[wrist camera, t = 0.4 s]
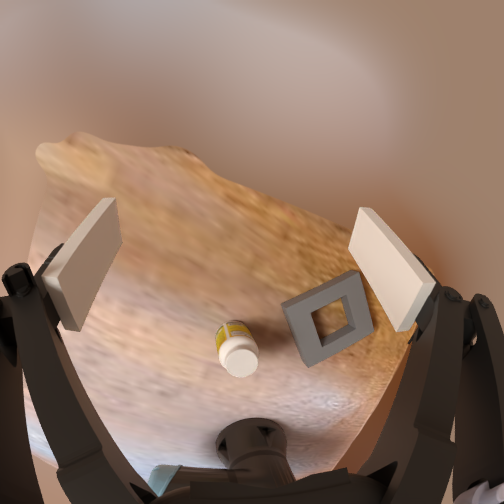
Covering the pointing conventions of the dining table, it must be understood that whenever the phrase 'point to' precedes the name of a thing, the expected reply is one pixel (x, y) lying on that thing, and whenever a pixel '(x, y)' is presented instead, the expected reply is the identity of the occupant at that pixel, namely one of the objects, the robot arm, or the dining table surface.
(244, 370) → the pill bottle
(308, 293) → the bottle holder
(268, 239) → the dining table surface
